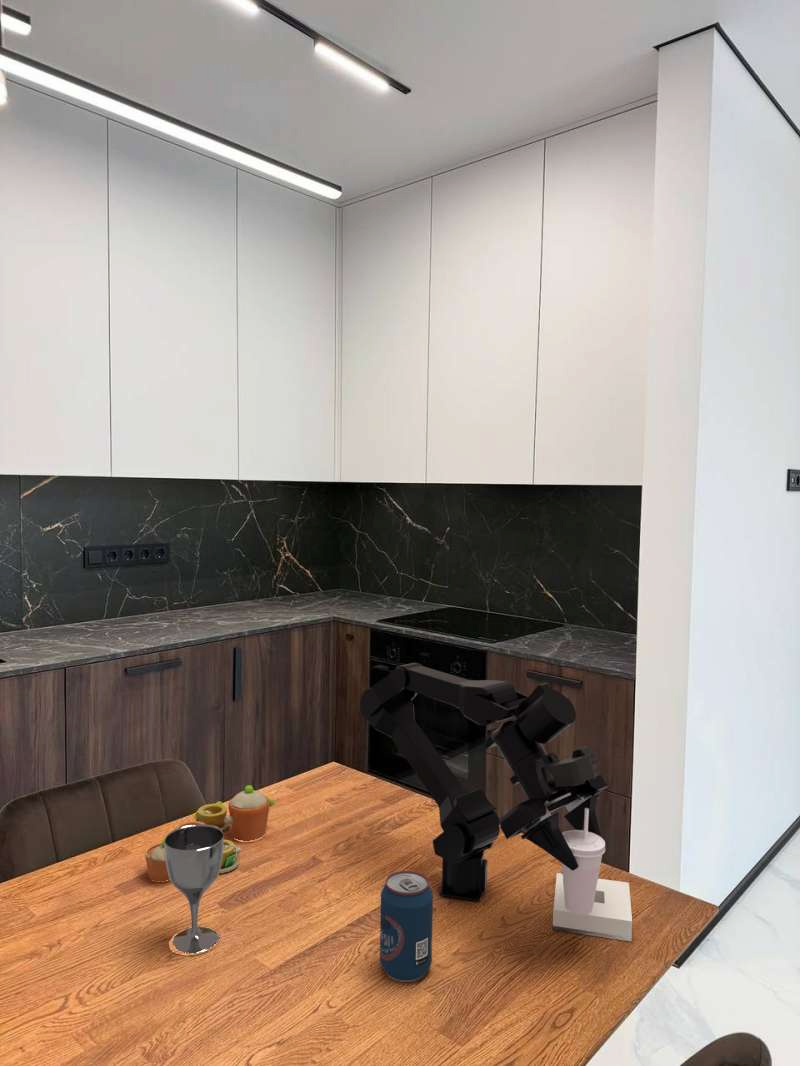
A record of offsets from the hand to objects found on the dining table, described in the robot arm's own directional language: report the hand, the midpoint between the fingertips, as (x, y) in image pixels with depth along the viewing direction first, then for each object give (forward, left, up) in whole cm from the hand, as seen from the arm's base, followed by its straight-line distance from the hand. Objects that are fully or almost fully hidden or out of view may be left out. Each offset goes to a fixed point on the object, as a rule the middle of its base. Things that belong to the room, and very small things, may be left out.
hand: (589, 861), depth 105 cm
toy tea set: (-64, +13, -14) cm, 67 cm away
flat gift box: (+1, +10, -13) cm, 17 cm away
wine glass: (-53, -12, -14) cm, 56 cm away
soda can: (-23, -10, -14) cm, 29 cm away
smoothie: (-1, +1, -7) cm, 7 cm away
